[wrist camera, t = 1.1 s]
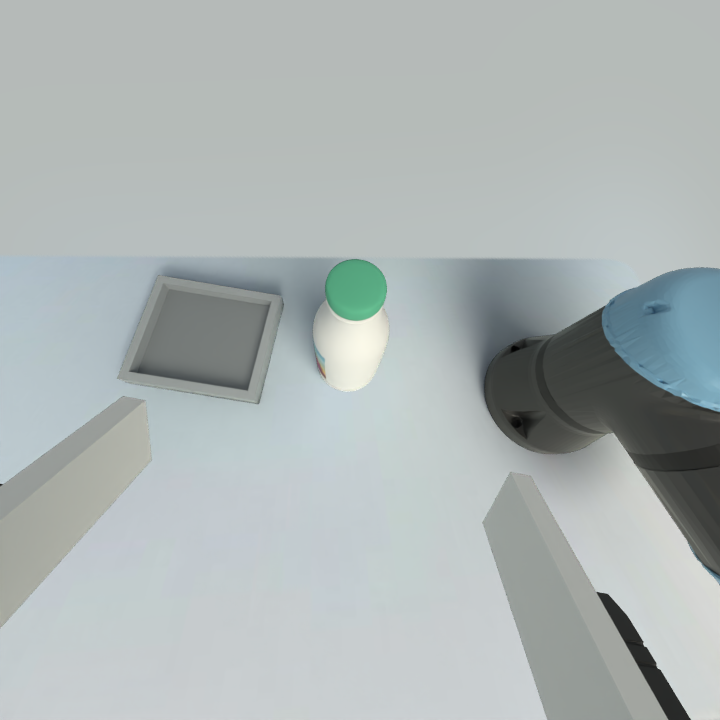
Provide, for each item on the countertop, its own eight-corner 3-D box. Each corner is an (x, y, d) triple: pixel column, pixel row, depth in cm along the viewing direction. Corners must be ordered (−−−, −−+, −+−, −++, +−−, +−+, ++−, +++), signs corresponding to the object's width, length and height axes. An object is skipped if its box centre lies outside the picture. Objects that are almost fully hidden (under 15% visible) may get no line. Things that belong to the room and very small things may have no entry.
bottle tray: (283, 304, 44) (280, 295, 42) (259, 404, 40) (254, 400, 38) (167, 285, 44) (158, 275, 42) (129, 383, 40) (116, 378, 37)
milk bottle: (385, 351, 43) (424, 264, 24) (361, 402, 41) (383, 350, 22) (334, 327, 44) (332, 224, 25) (307, 377, 41) (283, 304, 22)
